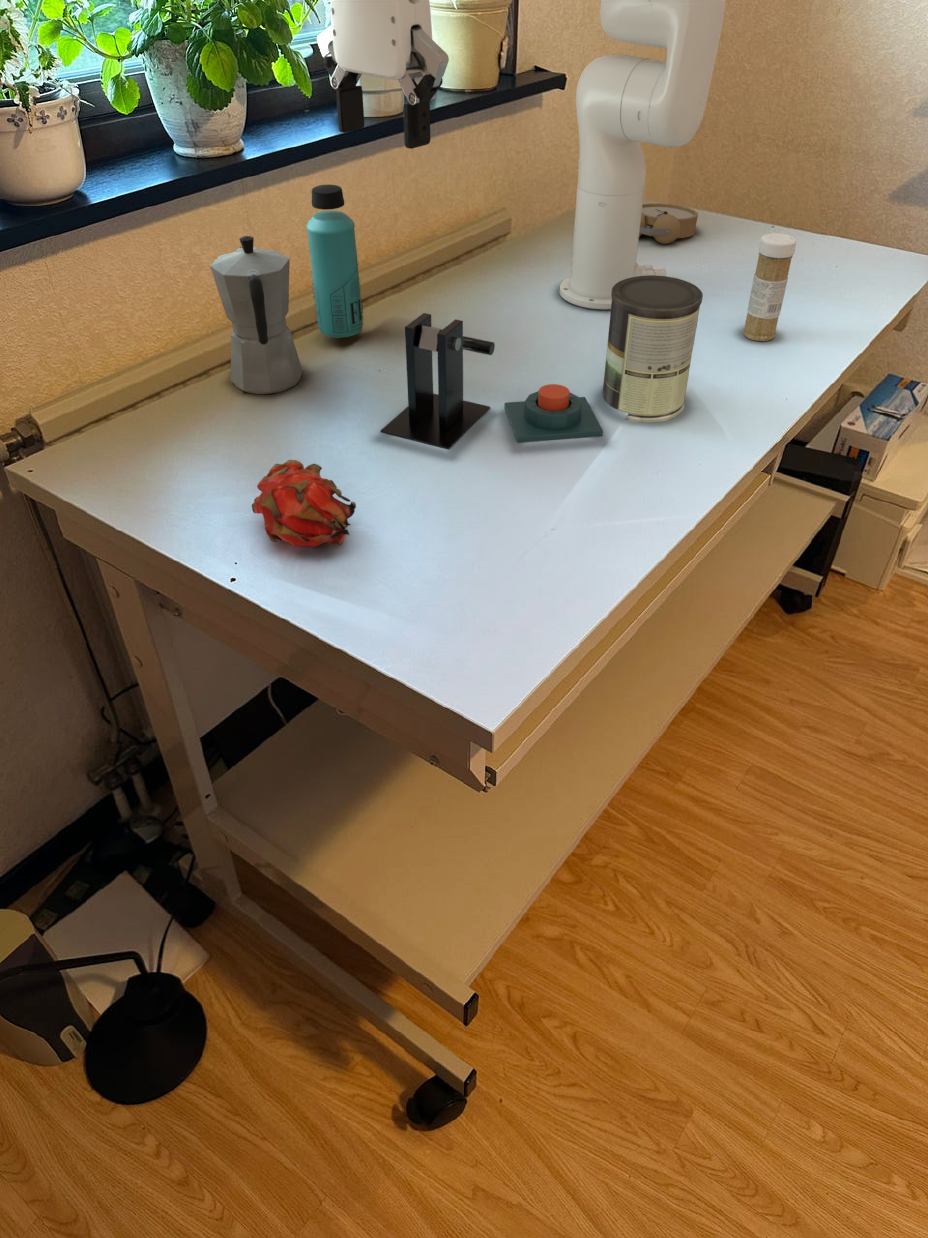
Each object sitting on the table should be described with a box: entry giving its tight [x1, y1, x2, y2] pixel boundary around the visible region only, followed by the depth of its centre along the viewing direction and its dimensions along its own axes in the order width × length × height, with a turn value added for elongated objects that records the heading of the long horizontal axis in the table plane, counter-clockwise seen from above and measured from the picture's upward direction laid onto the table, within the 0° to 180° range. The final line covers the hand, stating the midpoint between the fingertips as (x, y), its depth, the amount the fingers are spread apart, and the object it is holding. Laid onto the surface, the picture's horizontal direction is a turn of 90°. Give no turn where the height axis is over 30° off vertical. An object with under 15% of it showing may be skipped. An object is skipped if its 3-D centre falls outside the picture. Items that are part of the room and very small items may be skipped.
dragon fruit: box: [251, 459, 357, 548], centre depth 92 cm, size 8×8×12 cm
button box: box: [503, 390, 604, 444], centre depth 110 cm, size 10×8×4 cm
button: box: [538, 383, 571, 411], centre depth 108 cm, size 4×4×2 cm
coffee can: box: [602, 275, 704, 423], centre depth 111 cm, size 10×10×14 cm
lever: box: [419, 326, 496, 356], centre depth 109 cm, size 13×6×2 cm, turn 154°
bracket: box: [379, 312, 491, 450], centre depth 107 cm, size 11×9×13 cm
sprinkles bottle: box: [742, 232, 797, 342], centre depth 127 cm, size 5×5×13 cm
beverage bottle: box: [305, 184, 365, 339], centre depth 124 cm, size 6×7×20 cm
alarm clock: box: [639, 202, 699, 245], centre depth 162 cm, size 11×5×15 cm
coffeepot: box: [209, 235, 304, 395], centre depth 114 cm, size 15×9×18 cm, turn 15°
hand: (384, 137), depth 97 cm, fingers open, 9 cm apart
